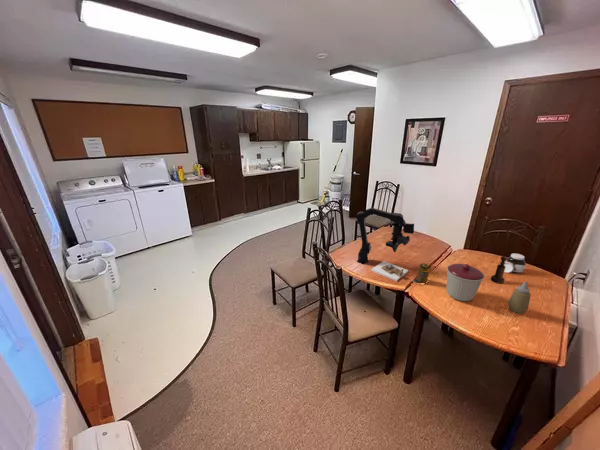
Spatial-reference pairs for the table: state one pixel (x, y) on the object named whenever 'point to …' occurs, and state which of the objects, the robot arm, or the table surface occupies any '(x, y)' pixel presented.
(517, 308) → the squeeze bottle
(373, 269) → the board
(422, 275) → the condiment
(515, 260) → the spread jar
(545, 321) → the table surface
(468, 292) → the canister
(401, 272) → the block
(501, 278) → the pepper mill
